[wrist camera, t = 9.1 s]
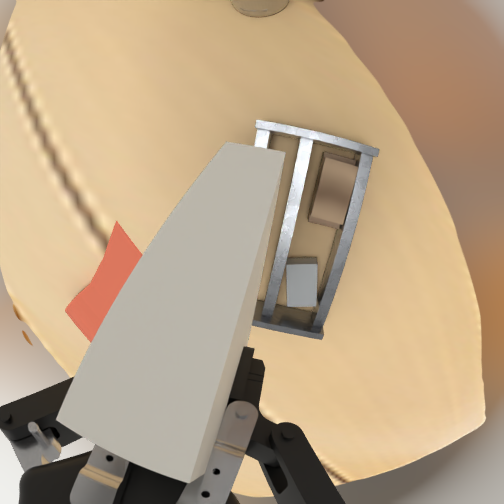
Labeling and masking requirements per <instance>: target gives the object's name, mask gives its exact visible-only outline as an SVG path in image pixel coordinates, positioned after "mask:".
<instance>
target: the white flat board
mask: <svg viewBox="0 0 504 504" xmlns="http://www.w3.org/2000/svg"><path fill="white" fill-rule="evenodd" d="M285 153H286V152H282V151H277V150H272V149H267V148H261V147H256V146H250V145H244V144H238V143H231V142H226V143H225V144H224V145H223V146H222V148H221V149H220V150H219V151H218V152H217V154H216V155H215V156H214V157H213V159H212V160H211V161H210V162H209V164H208V165H207V166H206V167H205V169H204V170H203V171H202V172H201V174H200V175H199V176H198V178H197V179H196V180H195V182H194V183H193V184H192V185H191V187H190V188H189V189H188V191H187V192H186V193H185V195H184V196H183V198H182V199H181V200H180V202H179V203H178V204H177V206H176V207H175V208H174V210H173V211H172V213H171V214H170V215H169V217H168V218H167V220H166V221H165V223H164V224H163V225H162V227H161V228H160V230H159V231H158V233H157V234H156V236H155V237H154V239H153V240H152V242H151V243H150V245H149V246H148V248H147V249H146V251H145V252H144V254H143V255H142V257H141V258H140V260H139V261H138V263H137V265H136V266H135V268H134V269H133V271H132V272H131V274H130V276H129V277H128V279H127V281H126V282H125V284H124V285H123V287H122V289H121V290H120V292H119V294H118V296H117V297H116V299H115V301H114V302H113V304H112V306H111V308H110V309H109V311H108V313H107V315H106V316H105V318H104V320H103V322H102V324H101V325H100V327H99V329H98V331H97V333H96V335H95V337H94V339H93V340H92V342H91V344H90V346H89V348H88V350H87V352H86V354H85V356H84V358H83V360H82V362H81V364H80V366H79V368H78V370H77V372H76V375H75V377H74V379H73V381H72V383H71V385H70V388H69V390H68V392H67V394H66V397H65V399H64V401H63V404H62V406H61V408H60V411H59V413H58V416H57V418H56V420H57V421H58V422H60V423H61V424H63V425H64V426H66V427H68V428H69V429H71V430H72V431H74V432H76V433H77V434H79V435H80V436H82V437H84V438H86V439H88V440H89V441H91V442H93V443H94V444H96V445H98V446H100V447H102V448H104V449H106V450H108V451H109V452H111V453H113V454H115V455H118V456H120V457H122V458H124V459H126V460H128V461H130V462H133V463H135V464H137V465H140V466H142V467H144V468H147V469H149V470H152V471H154V472H157V473H160V474H162V475H165V476H168V477H171V478H174V479H177V480H180V481H183V482H186V483H191V482H192V481H194V480H195V479H197V478H198V477H200V476H202V475H203V474H205V471H206V468H207V465H208V461H209V458H210V455H211V452H212V449H213V446H214V443H215V441H216V438H217V435H218V431H219V428H220V425H221V422H222V418H223V415H224V413H225V411H226V408H227V404H228V399H229V395H230V392H231V388H232V385H233V382H234V378H235V375H236V371H237V368H238V364H239V361H240V357H241V354H242V350H243V347H244V346H246V347H247V345H248V340H249V335H250V331H251V326H252V321H253V316H254V311H255V307H256V302H257V297H258V292H259V287H260V282H261V277H262V272H263V268H264V263H265V258H266V253H267V248H268V242H269V237H270V232H271V227H272V222H273V217H274V212H275V207H276V201H277V196H278V191H279V186H280V180H281V175H282V170H283V164H284V159H285Z"/></svg>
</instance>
